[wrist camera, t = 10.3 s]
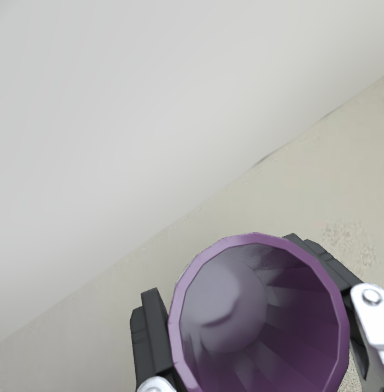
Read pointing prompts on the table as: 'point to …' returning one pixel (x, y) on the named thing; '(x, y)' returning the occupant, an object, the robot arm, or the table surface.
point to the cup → (258, 319)
